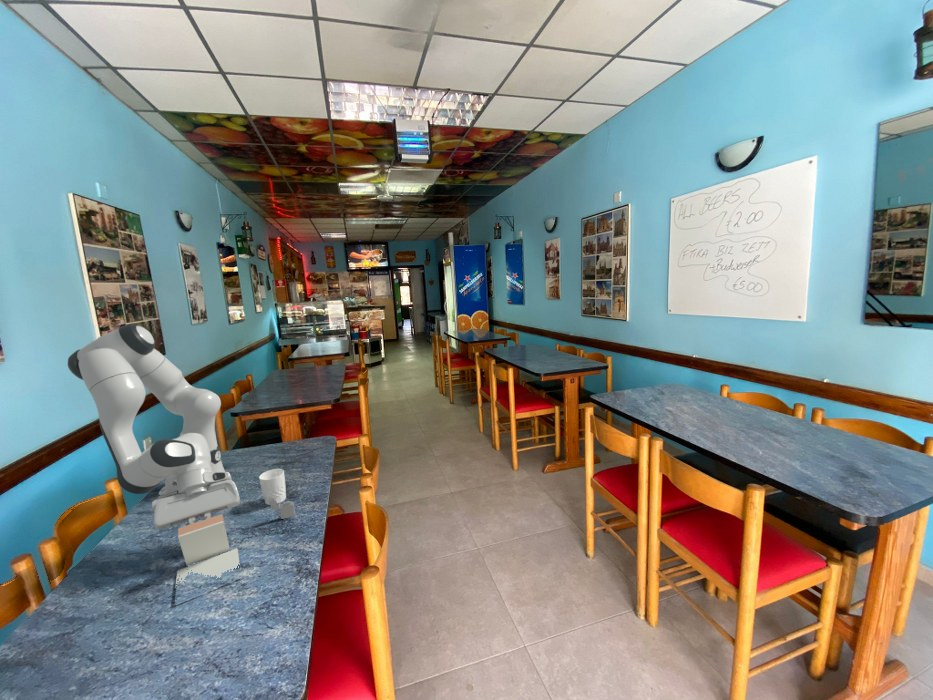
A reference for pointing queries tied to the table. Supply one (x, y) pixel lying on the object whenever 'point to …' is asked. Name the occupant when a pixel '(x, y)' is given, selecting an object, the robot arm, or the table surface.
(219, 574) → the mat
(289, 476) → the table surface
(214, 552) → the tile
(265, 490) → the white cup
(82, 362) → the robot arm
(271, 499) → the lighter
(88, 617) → the table surface
